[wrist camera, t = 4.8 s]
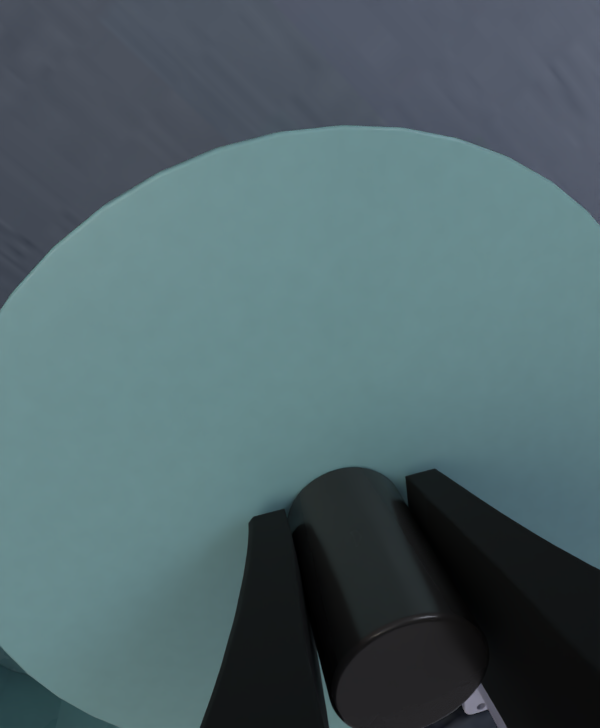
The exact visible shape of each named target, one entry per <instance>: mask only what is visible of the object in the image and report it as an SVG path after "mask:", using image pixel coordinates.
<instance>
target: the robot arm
mask: <svg viewBox="0 0 600 728" xmlns="http://www.w3.org/2000/svg"><path fill="white" fill-rule="evenodd" d="M405 479H406V489H407V499H408V507H409V509H410V511H411V512H412V514H413V516H414V517H415V519H416V521H417V522H418V524H419V526H420V527H421V529H422V531H423V532H424V534H425V536H426V537H427V539H428V541H429V542H430V544H431V546H432V547H433V549H434V551H435V552H436V554H437V556H438V557H439V559H440V561H441V562H442V564H443V566H444V567H445V569H446V571H447V572H448V574H449V576H450V577H451V579H452V581H453V582H454V584H455V586H456V587H457V589H458V591H459V592H460V594H461V596H462V597H463V599H464V601H465V602H466V604H467V606H468V607H469V609H470V611H471V612H472V614H473V616H474V617H475V619H476V621H477V622H478V624H479V626H480V627H481V629H482V631H483V632H484V634H485V636H486V638H487V641H488V646H489V654H490V656H489V664H488V668H487V671H486V674H485V676H484V678H483V680H482V682H481V684H480V685H479V687H478V688H477V689H476V691H475V692H474V693H473V694H472V695H471V696H470V698H469V699H468V700H466V701H465V702H464V703H463V704H462V707H463V709H464V711H465V713H466V714H475V713H478V712H481V711H484V710H487V709H488V710H489V712H490V713H491V715H492V717H493V719H494V721H495V723H496V725H497V727H498V728H600V569H598V568H596V567H594V566H592V565H590V564H588V563H586V562H584V561H582V560H581V559H579V558H577V557H575V556H573V555H572V554H570V553H568V552H566V551H564V550H563V549H561V548H559V547H557V546H555V545H553V544H552V543H550V542H548V541H547V540H545V539H543V538H542V537H540V536H538V535H536V534H535V533H533V532H532V531H530V530H528V529H527V528H525V527H524V526H522V525H520V524H519V523H517V522H516V521H514V520H512V519H511V518H509V517H507V516H506V515H504V514H503V513H501V512H500V511H498V510H497V509H495V508H493V507H492V506H490V505H489V504H487V503H486V502H484V501H483V500H481V499H480V498H478V497H477V496H475V495H474V494H472V493H471V492H469V491H468V490H466V489H465V488H464V487H462V486H461V485H459V484H458V483H456V482H455V481H453V480H452V479H450V478H449V477H447V476H446V475H444V474H443V473H441V472H440V471H438V470H437V469H435V468H434V469H431V470H427V471H423V472H419V473H416V474H412V475H408V476H405ZM200 728H329V723H328V716H327V710H326V704H325V698H324V691H323V685H322V679H321V673H320V666H319V660H318V654H317V648H316V644H315V640H314V636H313V632H312V629H311V625H310V621H309V617H308V613H307V608H306V602H305V597H304V591H303V585H302V579H301V573H300V569H299V564H298V560H297V555H296V551H295V546H294V542H293V538H292V533H291V530H290V526H289V523H288V519H287V516H286V512H285V509H280V510H277V511H273V512H269V513H265V514H262V515H258V516H254V517H252V519H251V520H250V522H249V523H248V546H247V555H246V562H245V568H244V574H243V580H242V584H241V589H240V594H239V598H238V603H237V608H236V612H235V617H234V621H233V624H232V628H231V632H230V635H229V639H228V642H227V646H226V649H225V653H224V657H223V660H222V664H221V667H220V670H219V673H218V676H217V680H216V683H215V686H214V689H213V692H212V695H211V698H210V701H209V703H208V706H207V709H206V712H205V714H204V717H203V720H202V723H201V725H200Z"/></svg>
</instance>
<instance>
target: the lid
mask: <svg viewBox="0 0 600 728" xmlns="http://www.w3.org/2000/svg"><path fill="white" fill-rule="evenodd" d="M434 468H435V469H437V470H438V471H440V472H441V473H443V474H444V475H446V476H447V477H449V478H450V479H452V480H453V481H455V482H456V483H458V484H459V485H461V486H462V487H464V488H465V489H466V490H468V491H469V492H471V493H472V494H474V495H475V496H477V497H478V498H480V499H481V500H483V501H484V502H486V503H487V504H489V505H490V506H492V507H493V508H495V509H497V510H498V511H500V512H501V513H503V514H504V515H506V516H507V517H509V518H511V519H512V520H514V521H516V522H517V523H519V524H520V525H522V526H524V527H525V528H527V529H528V530H530V531H532V532H533V533H535V534H536V535H538V536H540V537H542V538H543V539H545V540H547V541H548V542H550V543H552V544H553V545H555V546H557V547H559V548H561V549H563V550H564V551H566V552H568V553H570V554H572V555H573V556H575V557H577V558H579V559H581V560H582V561H584V562H586V563H588V564H590V565H592V566H594V567H596V568H598V569H600V225H599V224H598V223H597V222H596V221H595V219H594V218H593V217H592V216H591V215H590V214H589V213H588V211H587V210H586V209H584V208H583V207H582V206H581V205H579V204H578V203H577V202H576V201H575V200H573V199H572V198H571V197H570V196H569V195H567V194H566V193H565V192H564V191H562V190H561V189H560V188H559V187H558V186H556V185H555V184H554V183H553V182H551V181H550V180H548V179H546V178H545V177H543V176H541V175H539V174H538V173H536V172H534V171H532V170H531V169H529V168H527V167H525V166H524V165H522V164H520V163H518V162H517V161H515V160H513V159H511V158H509V157H508V156H505V155H502V154H500V153H497V152H494V151H491V150H489V149H486V148H483V147H481V146H478V145H475V144H472V143H470V142H467V141H464V140H461V139H459V138H454V137H449V136H444V135H439V134H434V133H429V132H424V131H418V130H413V129H408V128H403V127H381V126H355V125H337V126H327V127H318V128H309V129H300V130H291V131H282V132H275V133H271V134H267V135H263V136H260V137H256V138H252V139H248V140H244V141H240V142H236V143H233V144H229V145H225V146H221V147H217V148H215V149H212V150H210V151H207V152H205V153H203V154H200V155H198V156H196V157H193V158H191V159H188V160H186V161H184V162H181V163H179V164H176V165H174V166H172V167H169V168H167V169H165V170H162V171H160V172H158V173H156V174H155V175H153V176H151V177H150V178H148V179H146V180H145V181H143V182H141V183H140V184H138V185H136V186H135V187H133V188H131V189H130V190H128V191H126V192H125V193H123V194H121V195H120V196H118V197H116V198H115V199H113V200H111V201H110V202H108V203H106V204H105V205H104V206H102V207H101V208H100V209H99V210H97V211H96V212H95V213H94V214H93V215H91V216H90V217H89V218H88V219H86V220H85V221H84V222H83V223H82V224H80V225H79V226H78V227H77V228H76V229H74V230H73V231H72V232H71V233H69V234H68V235H67V236H66V237H65V238H63V239H62V240H61V241H60V242H58V243H57V244H56V245H55V246H54V247H52V249H51V250H50V251H49V252H48V253H47V254H46V255H45V256H44V257H43V259H42V260H41V261H40V262H39V263H38V264H37V265H36V266H35V267H34V268H33V270H32V271H31V272H30V273H29V274H28V275H27V276H26V277H25V278H24V280H23V281H22V282H21V283H20V284H19V285H18V286H17V287H16V288H15V290H14V291H13V292H12V293H11V294H10V296H9V298H8V299H7V301H6V302H5V304H4V305H3V307H2V308H1V310H0V646H1V648H2V649H3V650H4V651H5V652H6V653H7V654H8V655H9V656H10V657H11V658H12V659H13V660H14V661H15V662H16V663H17V664H18V665H19V666H20V667H21V668H22V669H23V670H24V671H25V672H26V673H27V674H28V675H30V676H31V677H32V678H34V679H35V680H36V681H38V682H39V683H40V684H42V685H43V686H44V687H46V688H47V689H48V690H50V691H51V692H52V693H54V694H55V695H56V696H58V697H59V698H61V699H63V700H64V701H66V702H68V703H70V704H71V705H73V706H75V707H77V708H79V709H80V710H82V711H84V712H86V713H87V714H89V715H91V716H93V717H96V718H98V719H101V720H103V721H105V722H108V723H110V724H113V725H115V726H118V727H120V728H200V725H201V723H202V720H203V717H204V714H205V712H206V709H207V706H208V703H209V701H210V698H211V695H212V692H213V689H214V686H215V683H216V680H217V676H218V673H219V670H220V667H221V664H222V660H223V657H224V653H225V649H226V646H227V642H228V639H229V635H230V632H231V628H232V624H233V621H234V617H235V612H236V608H237V603H238V598H239V594H240V589H241V584H242V580H243V574H244V568H245V562H246V555H247V546H248V523H249V522H250V520H251V519H252V517H254V516H258V515H262V514H265V513H269V512H273V511H277V510H280V509H285V512H286V516H287V519H288V523H289V526H290V530H291V533H292V538H293V542H294V546H295V551H296V555H297V560H298V564H299V569H300V573H301V579H302V585H303V591H304V597H305V602H306V608H307V613H308V617H309V621H310V625H311V629H312V632H313V636H314V640H315V644H316V648H317V654H318V660H319V666H320V673H321V679H322V685H323V691H324V698H325V704H326V710H327V716H328V723H329V728H422V727H425V726H428V725H430V724H432V723H434V722H437V721H438V720H440V719H442V718H444V717H446V716H447V715H449V714H450V713H452V712H453V711H455V710H456V709H457V708H458V707H460V706H461V705H462V704H463V703H464V702H465V701H466V700H468V699H469V698H470V696H471V695H472V694H473V693H474V692H475V691H476V689H477V688H478V687H479V685H480V684H481V682H482V680H483V678H484V676H485V674H486V671H487V668H488V664H489V656H490V654H489V646H488V641H487V638H486V636H485V634H484V632H483V631H482V629H481V627H480V626H479V624H478V622H477V621H476V619H475V617H474V616H473V614H472V612H471V611H470V609H469V607H468V606H467V604H466V602H465V601H464V599H463V597H462V596H461V594H460V592H459V591H458V589H457V587H456V586H455V584H454V582H453V581H452V579H451V577H450V576H449V574H448V572H447V571H446V569H445V567H444V566H443V564H442V562H441V561H440V559H439V557H438V556H437V554H436V552H435V551H434V549H433V547H432V546H431V544H430V542H429V541H428V539H427V537H426V536H425V534H424V532H423V531H422V529H421V527H420V526H419V524H418V522H417V521H416V519H415V517H414V516H413V514H412V512H411V511H410V509H409V507H408V499H407V489H406V479H405V476H408V475H412V474H416V473H419V472H423V471H427V470H431V469H434Z"/></svg>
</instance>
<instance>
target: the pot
mask: <svg viewBox="0 0 600 728" xmlns="http://www.w3.org/2000/svg"><path fill="white" fill-rule="evenodd" d="M0 728H120V727H118V726H115V725H113V724H110V723H108V722H105V721H103V720H101V719H98V718H96V717H93V716H91V715H89V714H87V713H86V712H84V711H82V710H80V709H79V708H77V707H75V706H73V705H71V704H70V703H68V702H66V701H64V700H63V699H61V698H59V697H58V696H56V695H55V694H54V693H52V692H51V691H50V690H48V689H47V688H46V687H44V686H43V685H42V684H40V683H39V682H38V681H36V680H35V679H34V678H32V677H31V676H30V675H28V674H27V673H26V672H25V671H24V670H23V669H22V668H21V667H20V666H19V665H18V664H17V663H16V662H15V661H14V660H13V659H12V658H11V657H10V656H9V655H8V654H7V653H6V652H5V651H4V650H3V649H2V648H1V646H0Z"/></svg>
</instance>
